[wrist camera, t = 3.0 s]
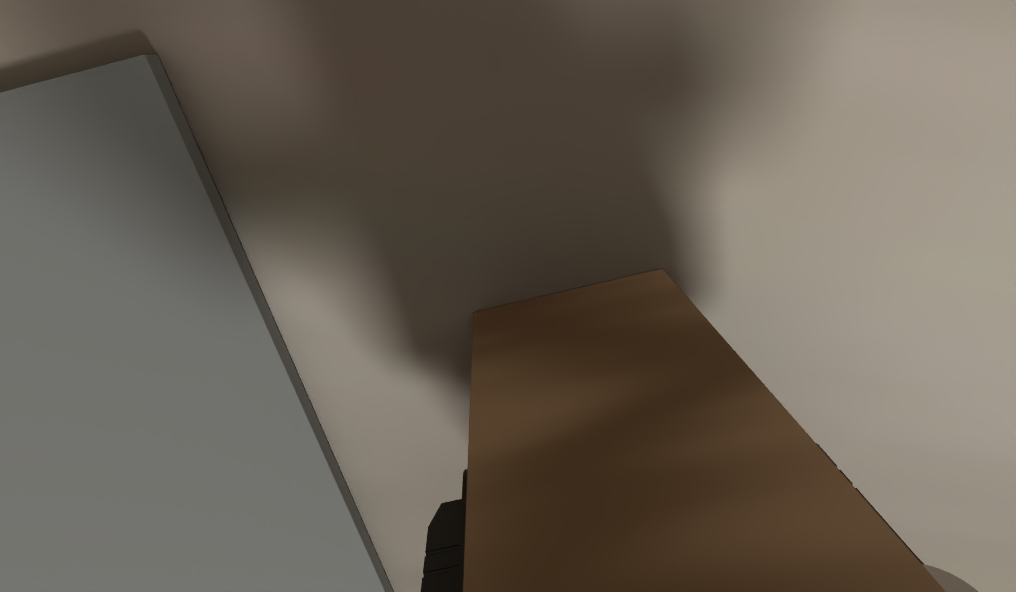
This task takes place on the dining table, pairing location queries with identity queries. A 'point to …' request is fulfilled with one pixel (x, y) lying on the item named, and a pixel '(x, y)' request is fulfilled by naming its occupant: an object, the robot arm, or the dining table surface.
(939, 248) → the dining table surface
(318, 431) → the mat
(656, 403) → the block
